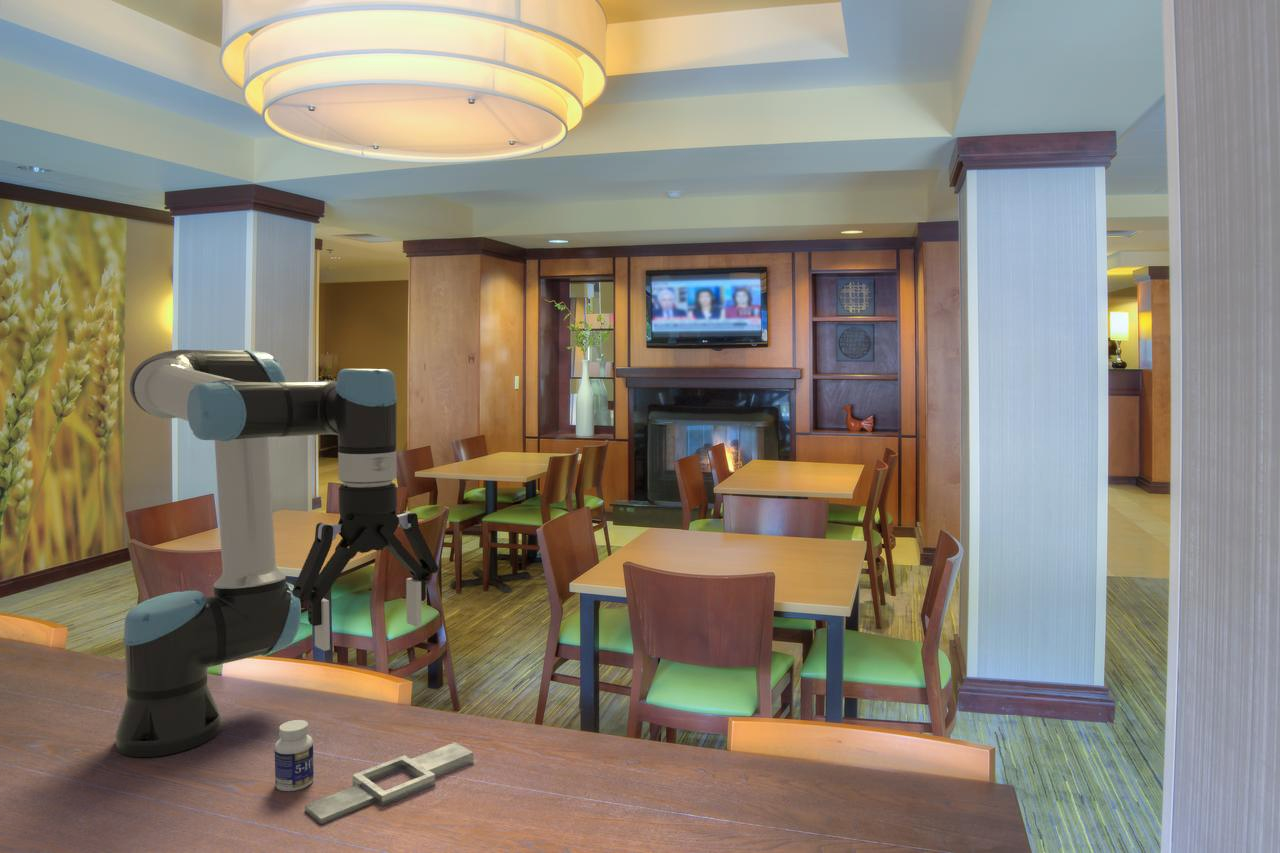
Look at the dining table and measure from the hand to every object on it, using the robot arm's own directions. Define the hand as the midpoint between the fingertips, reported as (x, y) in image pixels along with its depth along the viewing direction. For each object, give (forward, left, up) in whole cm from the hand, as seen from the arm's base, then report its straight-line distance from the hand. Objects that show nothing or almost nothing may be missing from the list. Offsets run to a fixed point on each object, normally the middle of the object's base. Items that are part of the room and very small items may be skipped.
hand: (370, 635), depth 113 cm
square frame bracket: (-4, +6, -25) cm, 26 cm away
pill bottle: (-15, -4, -25) cm, 30 cm away
